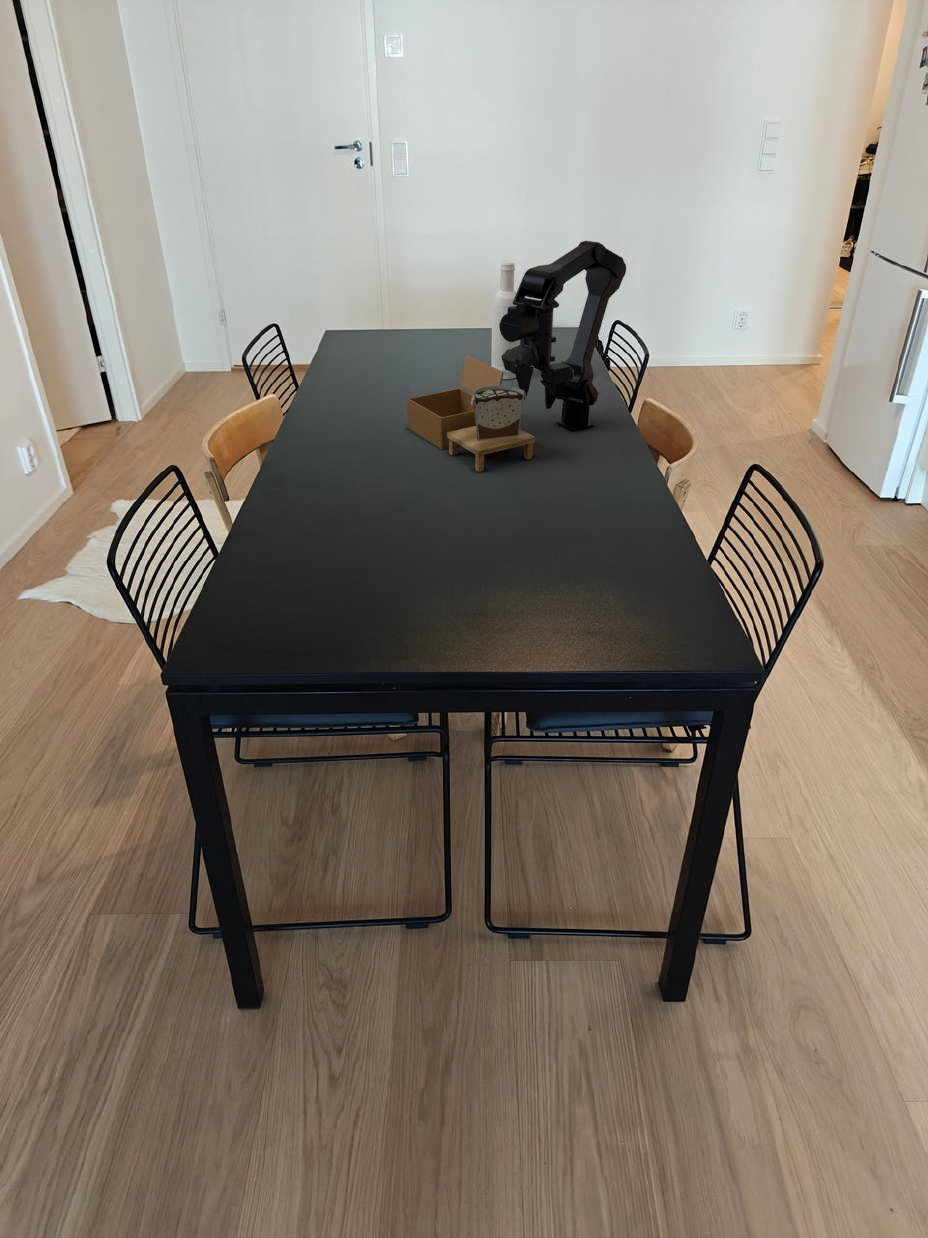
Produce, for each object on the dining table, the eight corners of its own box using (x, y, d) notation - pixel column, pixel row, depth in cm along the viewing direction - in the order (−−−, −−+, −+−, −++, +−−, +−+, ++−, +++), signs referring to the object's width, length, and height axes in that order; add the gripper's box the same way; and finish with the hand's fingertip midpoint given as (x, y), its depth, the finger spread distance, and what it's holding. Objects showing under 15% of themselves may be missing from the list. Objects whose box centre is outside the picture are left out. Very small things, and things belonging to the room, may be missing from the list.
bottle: (516, 380, 234) (520, 265, 217) (488, 378, 235) (490, 264, 218) (520, 371, 240) (524, 259, 224) (493, 370, 242) (495, 258, 225)
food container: (515, 426, 190) (517, 382, 185) (525, 435, 185) (526, 390, 180) (463, 431, 187) (463, 387, 182) (471, 441, 182) (472, 396, 177)
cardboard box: (460, 417, 209) (460, 387, 205) (495, 436, 198) (495, 406, 194) (408, 428, 203) (407, 398, 199) (441, 449, 192) (441, 418, 188)
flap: (459, 385, 205) (460, 385, 205) (495, 403, 194) (496, 403, 194) (466, 355, 202) (467, 355, 202) (502, 371, 191) (504, 371, 191)
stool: (534, 458, 187) (535, 437, 184) (478, 472, 180) (478, 450, 178) (501, 440, 196) (502, 419, 194) (447, 453, 190) (446, 432, 187)
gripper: (483, 327, 183) (483, 397, 191) (533, 348, 170) (531, 422, 178) (525, 320, 188) (523, 389, 196) (577, 339, 174) (572, 412, 183)
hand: (536, 402), depth 188 cm, fingers open, 9 cm apart
